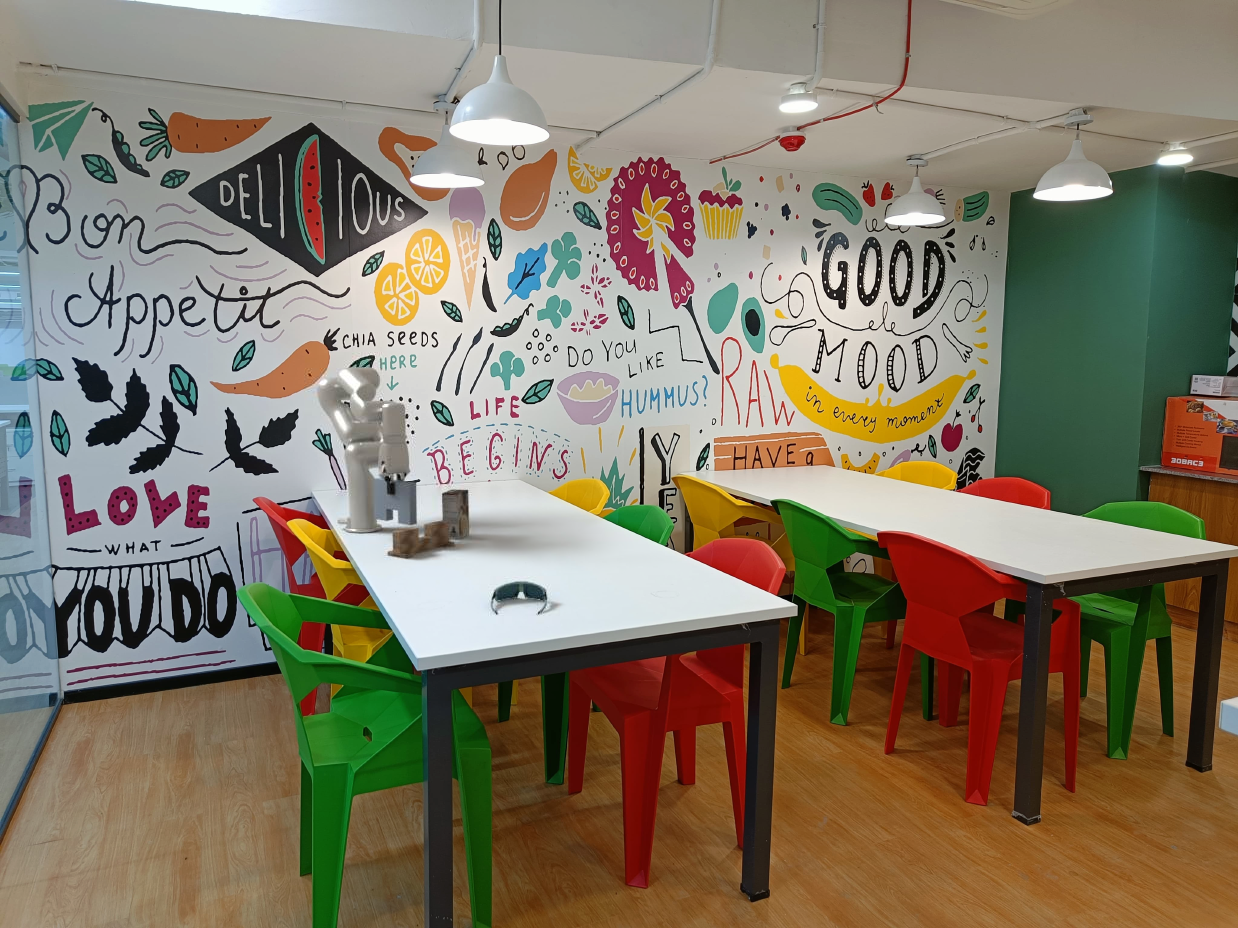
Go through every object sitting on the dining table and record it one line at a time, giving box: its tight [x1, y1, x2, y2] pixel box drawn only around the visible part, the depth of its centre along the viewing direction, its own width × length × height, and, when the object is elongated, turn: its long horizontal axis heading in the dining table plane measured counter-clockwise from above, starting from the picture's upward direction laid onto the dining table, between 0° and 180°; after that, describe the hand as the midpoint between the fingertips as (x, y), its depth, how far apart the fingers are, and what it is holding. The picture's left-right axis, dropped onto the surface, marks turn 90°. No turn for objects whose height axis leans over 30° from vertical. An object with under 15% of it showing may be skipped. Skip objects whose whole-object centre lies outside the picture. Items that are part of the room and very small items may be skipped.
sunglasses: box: [490, 580, 548, 615], centre depth 217 cm, size 14×15×5 cm
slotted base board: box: [387, 519, 456, 560], centre depth 277 cm, size 22×8×8 cm, turn 147°
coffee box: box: [441, 488, 470, 540], centre depth 297 cm, size 9×6×16 cm
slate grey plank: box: [374, 477, 418, 526], centre depth 289 cm, size 17×3×14 cm, turn 58°
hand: (395, 493), depth 289 cm, fingers closed on slate grey plank, 3 cm apart
